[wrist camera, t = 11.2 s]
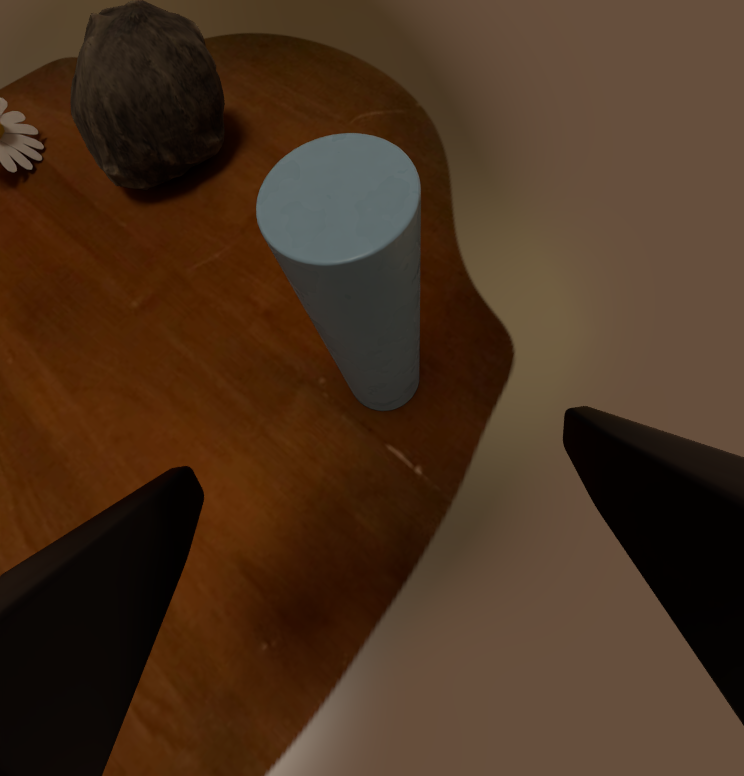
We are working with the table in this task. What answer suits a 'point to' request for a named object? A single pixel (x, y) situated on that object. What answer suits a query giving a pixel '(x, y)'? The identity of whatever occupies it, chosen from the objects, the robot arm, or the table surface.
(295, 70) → the table surface
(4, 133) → the decorative flower
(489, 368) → the table surface
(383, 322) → the canister
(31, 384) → the table surface
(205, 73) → the rock
